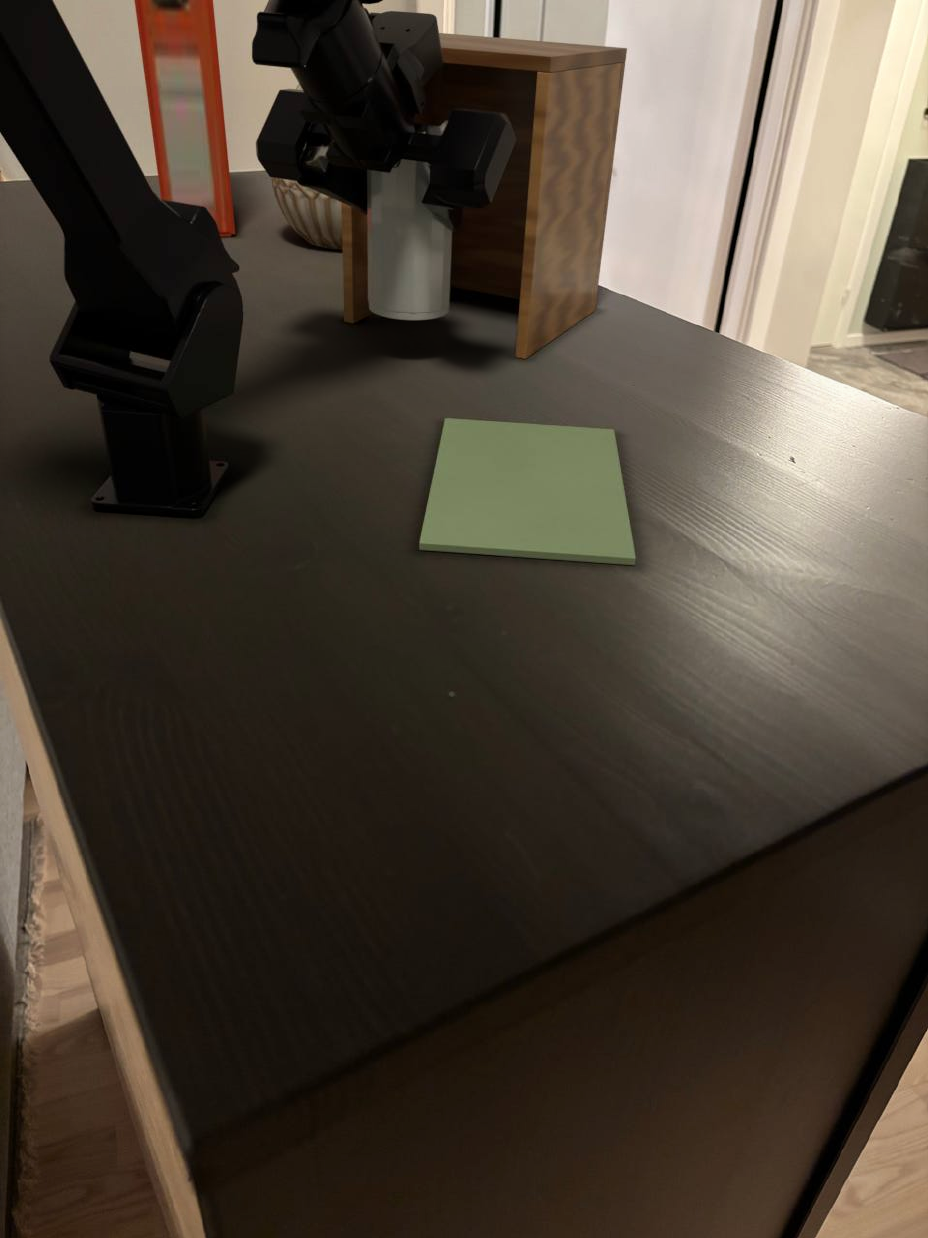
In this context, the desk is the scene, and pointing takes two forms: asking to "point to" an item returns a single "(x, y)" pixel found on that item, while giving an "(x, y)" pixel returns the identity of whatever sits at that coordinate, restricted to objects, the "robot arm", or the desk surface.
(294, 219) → the vase
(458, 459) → the mat
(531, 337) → the cubby cabinet
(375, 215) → the container
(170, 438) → the robot arm
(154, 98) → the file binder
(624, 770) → the desk surface
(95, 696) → the desk surface
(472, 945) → the desk surface
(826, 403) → the desk surface
